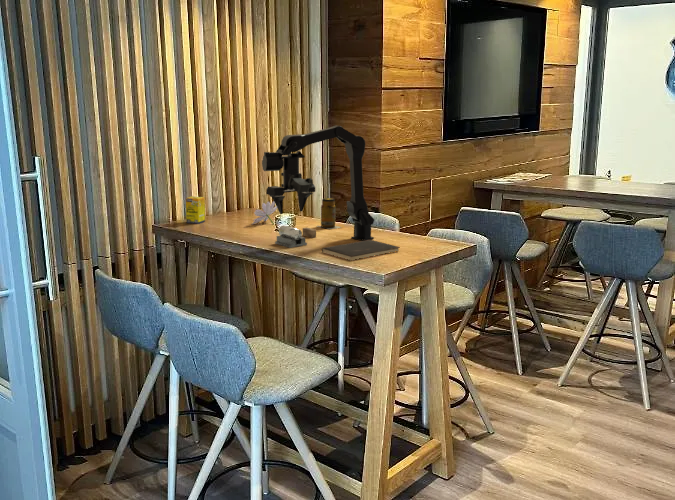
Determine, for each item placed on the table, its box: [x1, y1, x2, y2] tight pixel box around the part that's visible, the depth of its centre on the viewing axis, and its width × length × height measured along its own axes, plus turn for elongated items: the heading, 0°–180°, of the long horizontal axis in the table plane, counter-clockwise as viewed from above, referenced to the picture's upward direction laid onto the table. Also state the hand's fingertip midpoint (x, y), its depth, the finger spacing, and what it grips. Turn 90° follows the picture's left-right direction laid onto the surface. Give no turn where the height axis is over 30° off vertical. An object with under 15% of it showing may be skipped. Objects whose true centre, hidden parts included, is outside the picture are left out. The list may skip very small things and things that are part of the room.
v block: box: [274, 234, 308, 249], centre depth 253 cm, size 9×8×3 cm
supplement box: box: [185, 195, 206, 225], centre depth 292 cm, size 6×6×11 cm
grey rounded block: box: [302, 226, 317, 239], centre depth 264 cm, size 6×10×3 cm, turn 131°
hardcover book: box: [321, 239, 401, 261], centre depth 242 cm, size 16×23×2 cm
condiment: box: [317, 197, 342, 230], centre depth 285 cm, size 7×8×12 cm
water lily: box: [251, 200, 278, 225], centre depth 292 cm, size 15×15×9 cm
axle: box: [278, 225, 303, 240], centre depth 252 cm, size 9×4×4 cm, turn 41°
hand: (291, 212), depth 251 cm, fingers open, 9 cm apart
